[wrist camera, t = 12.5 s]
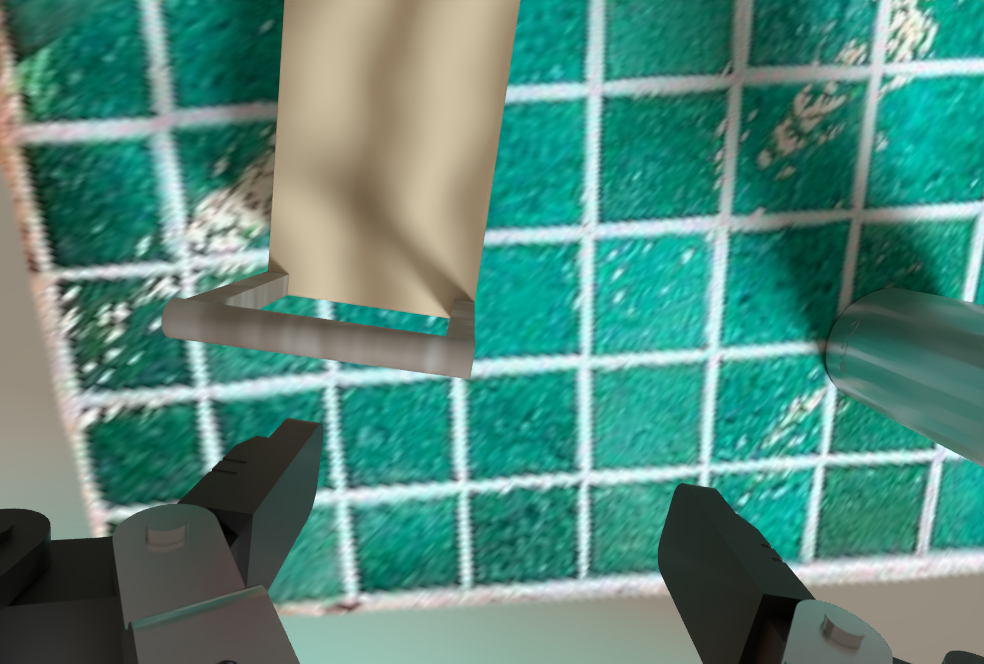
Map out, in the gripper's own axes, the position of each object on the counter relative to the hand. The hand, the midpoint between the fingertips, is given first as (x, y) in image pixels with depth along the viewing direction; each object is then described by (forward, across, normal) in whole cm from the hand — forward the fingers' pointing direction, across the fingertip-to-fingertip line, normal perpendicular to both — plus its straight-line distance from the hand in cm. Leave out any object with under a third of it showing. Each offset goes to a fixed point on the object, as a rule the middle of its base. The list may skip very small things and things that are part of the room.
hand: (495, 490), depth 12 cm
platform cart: (+28, +7, -9) cm, 31 cm away
